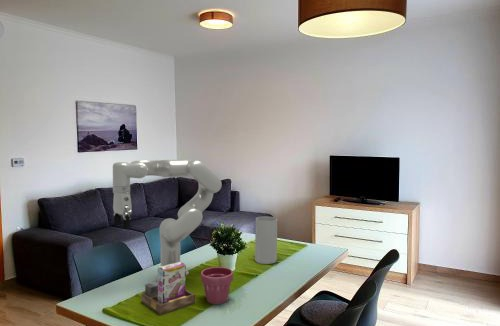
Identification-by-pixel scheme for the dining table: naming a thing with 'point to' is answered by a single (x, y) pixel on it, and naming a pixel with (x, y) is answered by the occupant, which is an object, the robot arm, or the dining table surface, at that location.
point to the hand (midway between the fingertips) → (121, 226)
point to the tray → (152, 302)
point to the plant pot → (216, 283)
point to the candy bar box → (171, 282)
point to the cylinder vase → (266, 240)
